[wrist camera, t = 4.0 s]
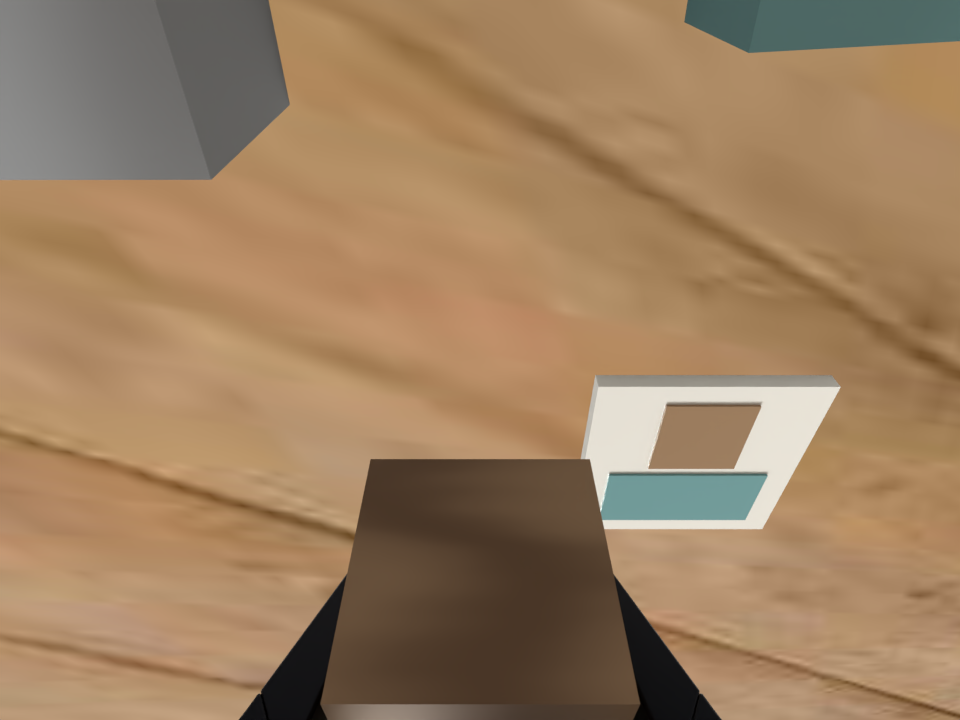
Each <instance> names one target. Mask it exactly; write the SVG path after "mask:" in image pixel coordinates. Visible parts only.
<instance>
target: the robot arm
mask: <svg viewBox="0 0 960 720" xmlns="http://www.w3.org/2000/svg"><path fill="white" fill-rule="evenodd" d="M346 577H347V574H346V576H345V577H344V578H343V580H342V581H341V582H340V584H339V585H338V586H337V588H336V589H335V591H334V592H333V593H332V595H331V596H330V597H329V599H328V600H327V601H326V603H325V604H324V605H323V607H322V608H321V610H320V611H319V612H318V614H317V615H316V616H315V618H314V619H313V620H312V622H311V623H310V624H309V626H308V627H307V629H306V630H305V631H304V633H303V634H302V635H301V637H300V638H299V639H298V641H297V642H296V644H295V645H294V646H293V648H292V649H291V650H290V652H289V653H288V654H287V656H286V657H285V658H284V660H283V661H282V663H281V664H280V665H279V667H278V668H277V669H276V671H275V672H274V673H273V675H272V676H271V677H270V679H269V680H268V682H267V683H266V684H265V686H264V687H263V688H262V690H261V694H260V693H259V694H257V696H256V697H255V698H254V700H253V701H252V703H251V704H250V705H249V707H248V708H247V709H246V711H245V712H244V713H243V715H242V716H241V717H240V718H239V720H328V719H327V717H326V715H325V713H324V711H323V709H322V707H321V705H320V704H321V699H322V694H323V689H324V684H325V679H326V674H327V670H328V665H329V660H330V655H331V650H332V645H333V640H334V635H335V631H336V626H337V621H338V616H339V611H340V606H341V601H342V596H343V591H344V587H345V582H346ZM614 579H615V584H616V589H617V594H618V599H619V603H620V608H621V613H622V618H623V623H624V628H625V633H626V638H627V642H628V647H629V652H630V657H631V662H632V667H633V672H634V677H635V681H636V686H637V691H638V696H639V701H640V706H639V708H638V710H637V712H636V714H635V716H634V718H633V720H722V719H721V718H720V717H719V715H718V714H717V713H716V711H715V710H714V709H713V707H712V706H711V705H710V703H709V702H708V701H707V699H706V698H705V697H704V695H703V694H701V693H700V691H699V689H698V688H697V686H696V685H695V684H694V682H693V681H692V680H691V678H690V677H689V675H688V674H687V673H686V671H685V670H684V669H683V667H682V666H681V665H680V663H679V662H678V661H677V659H676V658H675V657H674V655H673V654H672V652H671V651H670V650H669V648H668V647H667V646H666V644H665V643H664V642H663V640H662V639H661V638H660V636H659V635H658V633H657V632H656V631H655V629H654V628H653V627H652V625H651V624H650V623H649V621H648V620H647V619H646V617H645V616H644V614H643V613H642V612H641V610H640V609H639V608H638V606H637V605H636V604H635V602H634V601H633V600H632V598H631V597H630V595H629V594H628V593H627V591H626V590H625V589H624V587H623V586H622V585H621V583H620V582H619V581H618V579H617V578H616V576H615V575H614ZM699 693H700V694H699Z"/></svg>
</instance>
